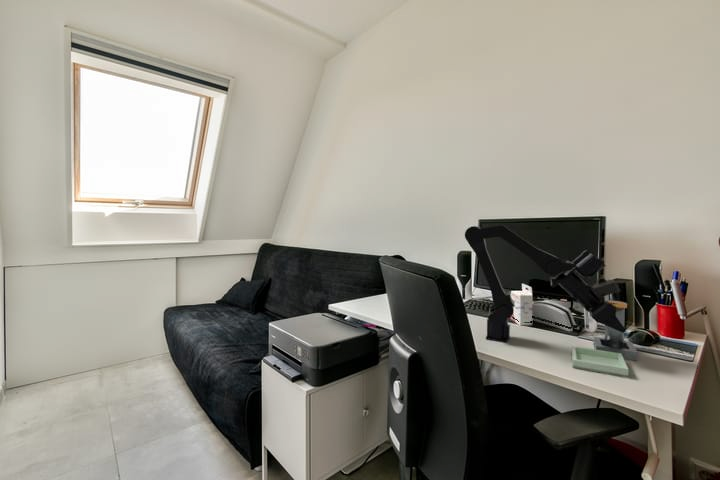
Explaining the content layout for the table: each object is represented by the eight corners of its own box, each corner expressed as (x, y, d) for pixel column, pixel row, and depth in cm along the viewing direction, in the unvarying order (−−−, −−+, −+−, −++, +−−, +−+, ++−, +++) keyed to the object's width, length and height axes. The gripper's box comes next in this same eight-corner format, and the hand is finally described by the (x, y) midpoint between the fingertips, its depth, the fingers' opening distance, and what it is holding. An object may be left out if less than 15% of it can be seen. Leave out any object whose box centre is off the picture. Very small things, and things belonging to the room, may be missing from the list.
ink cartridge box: (509, 319, 135) (510, 283, 134) (522, 319, 135) (522, 283, 134) (519, 325, 126) (520, 287, 125) (532, 325, 126) (533, 287, 125)
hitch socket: (595, 354, 98) (596, 346, 98) (593, 344, 106) (593, 336, 106) (637, 361, 93) (637, 352, 93) (631, 349, 101) (631, 341, 101)
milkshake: (604, 332, 117) (604, 304, 117) (588, 332, 117) (589, 304, 117) (595, 328, 122) (595, 301, 121) (580, 328, 122) (580, 301, 121)
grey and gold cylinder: (603, 353, 98) (604, 303, 98) (601, 347, 103) (602, 299, 103) (627, 357, 96) (628, 305, 95) (624, 350, 100) (625, 301, 100)
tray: (573, 367, 89) (573, 359, 89) (571, 353, 99) (571, 346, 99) (628, 377, 83) (628, 369, 83) (620, 361, 93) (621, 353, 93)
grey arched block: (580, 329, 120) (574, 305, 119) (571, 335, 119) (565, 310, 117) (539, 318, 136) (533, 296, 134) (531, 323, 134) (525, 301, 132)
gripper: (608, 274, 91) (658, 318, 87) (592, 266, 108) (633, 303, 104) (573, 300, 95) (620, 344, 91) (564, 289, 112) (602, 325, 108)
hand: (620, 327), depth 98 cm, fingers open, 8 cm apart
